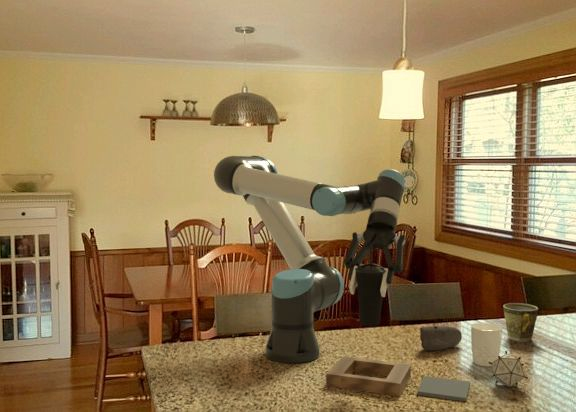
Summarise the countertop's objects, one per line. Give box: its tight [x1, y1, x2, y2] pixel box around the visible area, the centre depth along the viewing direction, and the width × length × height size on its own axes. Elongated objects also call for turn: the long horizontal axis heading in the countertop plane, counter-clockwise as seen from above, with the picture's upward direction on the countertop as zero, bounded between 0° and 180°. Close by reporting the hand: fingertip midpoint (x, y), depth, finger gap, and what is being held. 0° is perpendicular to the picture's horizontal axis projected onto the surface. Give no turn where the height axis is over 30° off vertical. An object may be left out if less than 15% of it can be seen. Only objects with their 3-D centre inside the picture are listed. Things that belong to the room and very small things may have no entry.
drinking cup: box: [355, 243, 386, 327], centre depth 148 cm, size 8×8×20 cm
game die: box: [488, 350, 529, 391], centre depth 146 cm, size 9×8×10 cm
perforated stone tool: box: [419, 325, 463, 352], centre depth 175 cm, size 15×5×7 cm, turn 112°
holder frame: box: [325, 356, 412, 397], centre depth 149 cm, size 18×14×3 cm
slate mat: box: [416, 375, 471, 402], centre depth 144 cm, size 11×11×1 cm
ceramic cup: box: [502, 302, 539, 343], centre depth 184 cm, size 13×10×10 cm
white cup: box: [470, 322, 503, 368], centre depth 163 cm, size 8×8×10 cm
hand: (366, 292), depth 144 cm, fingers closed on drinking cup, 7 cm apart
